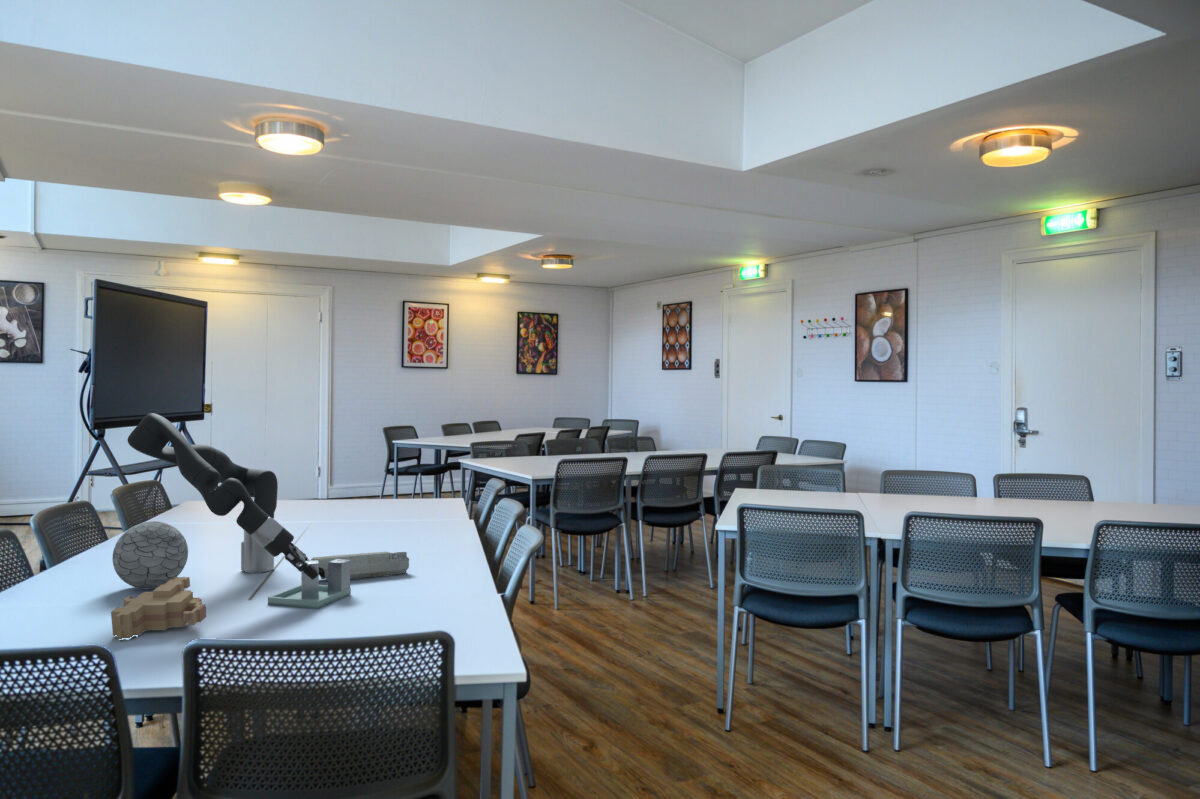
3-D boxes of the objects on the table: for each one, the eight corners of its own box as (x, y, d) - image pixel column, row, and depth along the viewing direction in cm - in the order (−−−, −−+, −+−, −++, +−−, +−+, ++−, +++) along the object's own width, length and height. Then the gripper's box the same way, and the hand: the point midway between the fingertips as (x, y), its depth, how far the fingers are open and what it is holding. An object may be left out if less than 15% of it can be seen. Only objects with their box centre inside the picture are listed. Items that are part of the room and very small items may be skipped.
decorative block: (408, 575, 259) (409, 552, 259) (311, 585, 244) (311, 561, 244) (402, 570, 266) (402, 547, 265) (307, 580, 251) (307, 556, 251)
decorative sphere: (96, 592, 234) (96, 524, 233) (155, 577, 252) (155, 514, 252) (146, 599, 227) (146, 529, 226) (203, 583, 245) (203, 518, 245)
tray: (267, 604, 223) (267, 597, 223) (303, 590, 238) (303, 583, 238) (317, 608, 219) (317, 601, 218) (350, 594, 234) (350, 587, 234)
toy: (144, 577, 208) (100, 609, 189) (221, 576, 209) (185, 609, 189) (147, 612, 210) (104, 648, 190) (223, 612, 211) (188, 647, 191)
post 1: (301, 599, 225) (301, 564, 225) (301, 595, 230) (301, 561, 229) (318, 598, 227) (318, 563, 227) (317, 594, 231) (318, 560, 231)
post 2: (327, 596, 231) (328, 562, 231) (336, 592, 235) (336, 559, 235) (341, 597, 230) (341, 563, 230) (349, 594, 234) (350, 560, 234)
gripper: (262, 541, 230) (304, 578, 234) (261, 551, 217) (306, 589, 221) (282, 522, 232) (324, 558, 236) (282, 530, 219) (326, 569, 223)
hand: (315, 573), depth 229 cm, fingers open, 8 cm apart
